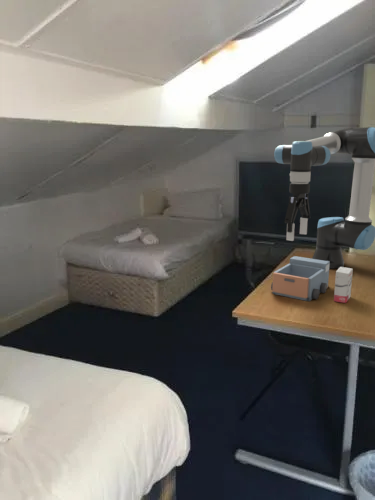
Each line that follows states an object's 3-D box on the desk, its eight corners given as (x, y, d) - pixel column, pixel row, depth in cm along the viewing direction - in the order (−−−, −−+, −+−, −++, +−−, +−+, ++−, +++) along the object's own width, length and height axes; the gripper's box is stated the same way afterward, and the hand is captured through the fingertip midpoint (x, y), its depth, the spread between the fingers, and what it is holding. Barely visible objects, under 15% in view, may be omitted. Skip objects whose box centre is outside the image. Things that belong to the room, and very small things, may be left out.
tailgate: (273, 290, 188) (274, 272, 186) (307, 297, 180) (308, 278, 178) (271, 291, 186) (272, 273, 185) (305, 298, 179) (307, 279, 177)
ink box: (346, 303, 178) (348, 273, 175) (332, 301, 180) (335, 271, 178) (350, 296, 185) (353, 267, 183) (338, 294, 188) (340, 266, 185)
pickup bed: (289, 279, 207) (290, 255, 204) (331, 287, 196) (333, 262, 194) (268, 293, 190) (269, 266, 187) (313, 302, 180) (315, 274, 177)
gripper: (302, 179, 191) (299, 230, 197) (277, 185, 171) (274, 241, 177) (320, 180, 187) (317, 232, 193) (296, 186, 167) (293, 244, 173)
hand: (296, 237), depth 185 cm, fingers open, 13 cm apart
